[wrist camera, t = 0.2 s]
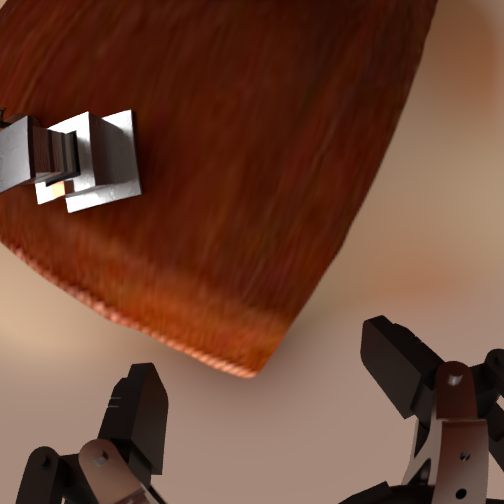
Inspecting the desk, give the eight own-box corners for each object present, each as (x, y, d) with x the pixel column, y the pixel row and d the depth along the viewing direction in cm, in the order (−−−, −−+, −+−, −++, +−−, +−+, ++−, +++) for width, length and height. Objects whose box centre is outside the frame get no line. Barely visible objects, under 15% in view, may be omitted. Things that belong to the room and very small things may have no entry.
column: (78, 149, 30) (-11, 139, 12) (109, 139, 30) (27, 115, 12) (82, 183, 31) (-8, 196, 13) (113, 174, 32) (30, 178, 14)
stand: (62, 135, 29) (14, 125, 18) (132, 111, 31) (100, 85, 19) (71, 211, 33) (24, 227, 21) (143, 193, 34) (111, 202, 22)
